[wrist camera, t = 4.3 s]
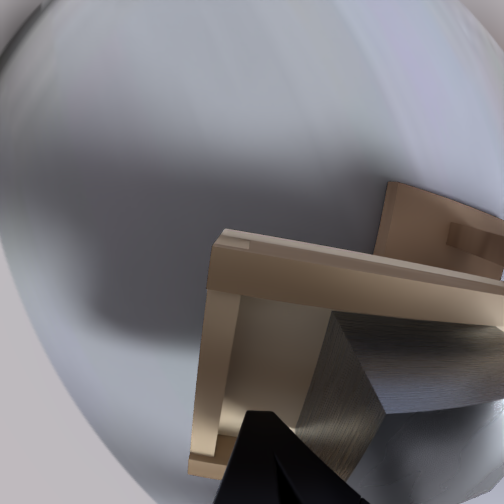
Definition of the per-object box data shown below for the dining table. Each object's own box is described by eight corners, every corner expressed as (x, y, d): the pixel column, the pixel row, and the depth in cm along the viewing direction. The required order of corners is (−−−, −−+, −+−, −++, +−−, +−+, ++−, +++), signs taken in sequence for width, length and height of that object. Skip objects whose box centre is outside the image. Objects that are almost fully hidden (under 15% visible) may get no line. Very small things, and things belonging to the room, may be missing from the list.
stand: (437, 404, 18) (485, 461, 11) (320, 417, 16) (356, 506, 10) (503, 222, 15) (584, 245, 8) (387, 181, 13) (496, 192, 7)
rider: (446, 422, 10) (490, 491, 5) (294, 428, 10) (307, 533, 5) (493, 325, 9) (567, 381, 4) (331, 310, 9) (386, 413, 4)
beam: (551, 403, 12) (569, 421, 9) (198, 426, 11) (187, 474, 8) (595, 302, 10) (618, 315, 7) (225, 228, 9) (212, 245, 7)
